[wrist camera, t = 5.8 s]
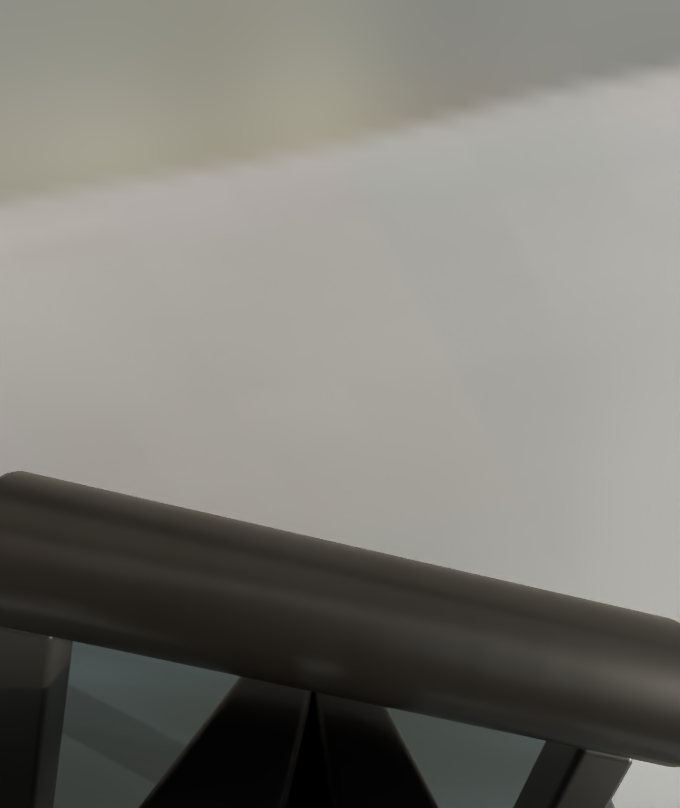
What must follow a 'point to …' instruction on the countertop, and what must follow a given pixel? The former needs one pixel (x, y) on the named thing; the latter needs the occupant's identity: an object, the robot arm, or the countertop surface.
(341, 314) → the countertop surface
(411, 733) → the drawer
